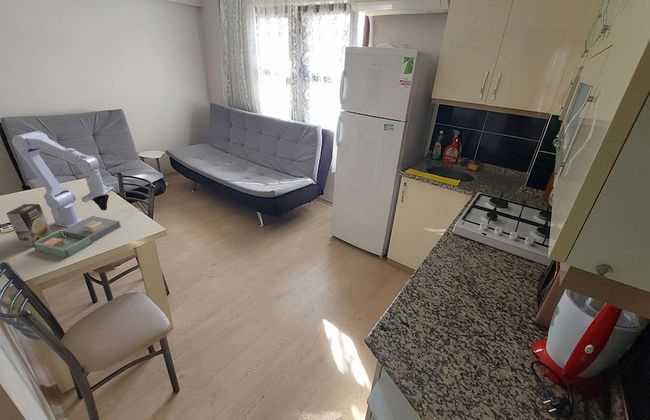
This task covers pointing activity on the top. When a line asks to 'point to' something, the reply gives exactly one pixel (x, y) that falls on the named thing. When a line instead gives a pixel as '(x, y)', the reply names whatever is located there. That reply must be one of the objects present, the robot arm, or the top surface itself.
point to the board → (80, 233)
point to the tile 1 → (55, 242)
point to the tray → (65, 250)
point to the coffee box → (29, 223)
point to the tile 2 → (93, 226)
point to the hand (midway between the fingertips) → (104, 209)
